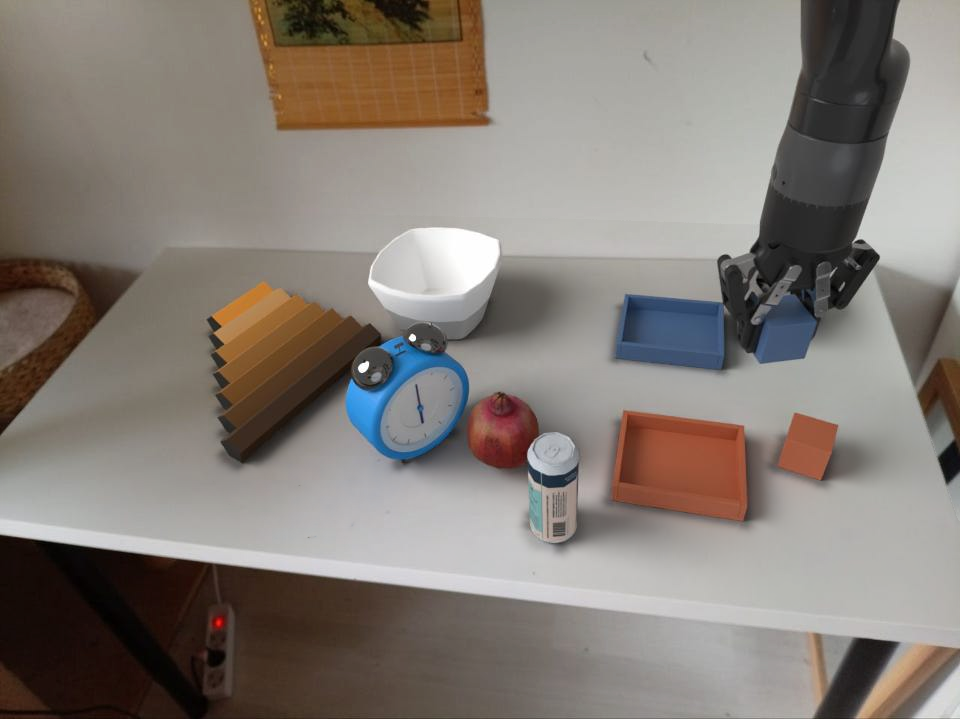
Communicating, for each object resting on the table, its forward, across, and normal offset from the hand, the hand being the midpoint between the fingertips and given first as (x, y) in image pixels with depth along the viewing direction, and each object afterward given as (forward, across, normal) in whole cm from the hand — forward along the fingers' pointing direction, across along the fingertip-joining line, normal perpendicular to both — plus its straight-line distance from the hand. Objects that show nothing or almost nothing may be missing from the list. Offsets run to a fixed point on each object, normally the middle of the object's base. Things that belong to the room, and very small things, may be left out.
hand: (772, 344), depth 65 cm
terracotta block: (+16, +6, -2) cm, 17 cm away
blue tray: (+16, -1, +21) cm, 26 cm away
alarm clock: (+16, -36, +9) cm, 40 cm away
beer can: (+16, -22, -6) cm, 28 cm away
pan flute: (+17, -57, +26) cm, 65 cm away
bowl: (+17, -31, +33) cm, 48 cm away
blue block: (0, 0, 0) cm, 0 cm away
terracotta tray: (+16, -8, -1) cm, 18 cm away
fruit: (+16, -26, +4) cm, 31 cm away
